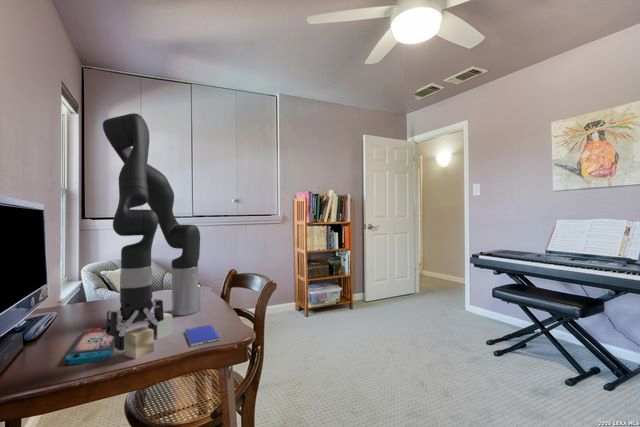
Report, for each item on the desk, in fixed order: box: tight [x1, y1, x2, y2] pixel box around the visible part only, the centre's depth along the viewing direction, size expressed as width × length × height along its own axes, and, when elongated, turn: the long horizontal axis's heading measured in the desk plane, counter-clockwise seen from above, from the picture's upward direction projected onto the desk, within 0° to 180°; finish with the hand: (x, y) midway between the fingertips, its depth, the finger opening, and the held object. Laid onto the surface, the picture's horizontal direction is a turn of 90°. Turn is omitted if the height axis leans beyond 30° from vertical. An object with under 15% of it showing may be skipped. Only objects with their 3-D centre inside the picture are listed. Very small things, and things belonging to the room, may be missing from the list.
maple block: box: [123, 326, 155, 360], centre depth 86 cm, size 5×5×6 cm
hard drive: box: [184, 324, 221, 347], centre depth 98 cm, size 2×8×12 cm
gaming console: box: [63, 326, 115, 366], centre depth 92 cm, size 24×3×10 cm
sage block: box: [146, 312, 173, 340], centre depth 99 cm, size 5×5×6 cm
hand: (136, 343), depth 86 cm, fingers open, 8 cm apart
